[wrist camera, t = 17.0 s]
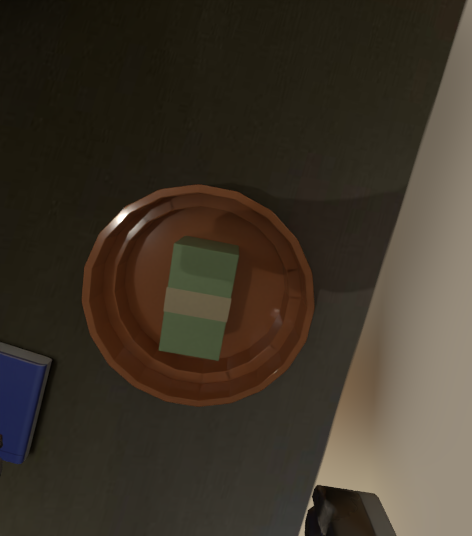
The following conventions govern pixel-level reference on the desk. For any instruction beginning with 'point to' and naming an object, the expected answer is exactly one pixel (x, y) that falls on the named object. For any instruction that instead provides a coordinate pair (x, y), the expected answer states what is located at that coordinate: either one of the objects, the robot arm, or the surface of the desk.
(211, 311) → the package
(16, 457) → the hard drive
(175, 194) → the bowl
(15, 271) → the desk surface
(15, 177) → the desk surface
